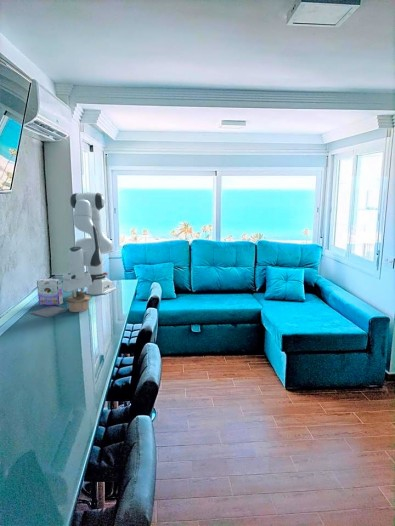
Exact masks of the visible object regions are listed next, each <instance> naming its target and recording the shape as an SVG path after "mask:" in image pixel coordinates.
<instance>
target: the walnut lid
mask: <svg viewBox="0 0 395 526" xmlns="http://www.w3.org/2000/svg"><path fill="white" fill-rule="evenodd" d="M71 293H72V292H71ZM76 294H78V296H77V297H74V294H73V293H72V295H70V296H68V297H66V302H68V303H69V302H70V303H81V302H86V301H88V302H90V300H91V296H90V294H85V292H84V291H83V292H80V291H78V290H76Z"/></svg>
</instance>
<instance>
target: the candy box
mask: <svg viewBox="0 0 395 526" xmlns="http://www.w3.org/2000/svg"><path fill="white" fill-rule="evenodd" d="M62 283H63V280H62V278H45V277H44V278H43V277H42V278H39V279H37V280H36V286H37V296H38V298H37V299H38V305H39V306H56V307H58V306H61V305H62V304H64V300H63V299H64V298H63V286H62Z"/></svg>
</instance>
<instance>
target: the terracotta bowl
mask: <svg viewBox="0 0 395 526" xmlns="http://www.w3.org/2000/svg"><path fill="white" fill-rule="evenodd" d="M68 305H69V306H68V307H69V308H68V310H69V312H72V313H80V312H79V311H83V312H85V311H84V310H86V311H88V310H89V309H88V308H89V301H86V302H81V303H70V302H68ZM87 309H88V310H87Z"/></svg>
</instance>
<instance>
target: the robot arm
mask: <svg viewBox="0 0 395 526" xmlns="http://www.w3.org/2000/svg"><path fill="white" fill-rule="evenodd" d="M69 199H70V200H69V201H70V206H71V207H72V208H73V209H74V210H73V225H74V227H75V228H76V229H77V230H79V231H81V232H83V233H86V234H88V235H89V236H90V238H89V237H87V238H86V237H83V238H79V239H77V240H76V241H75V245H74V246H72V247H70V248H69V249H68V258H67V259H68V265H69V268H68V271H67V272H65V273H64V274H62V277H61V279H62V292H64V293H70V292H71V293H73V294H74V297H77V296H78V294H76V291H78V290H80V291H79V292H84V290H85V288H86V291H85V293H86V295H91V296H93V295H94V296H95V295H107V294H109V293H111V292H113V291H115V290H117V286H116V287H115V286H114V284H113V281H112V280H110V278H108V277H106V276H108V275H109V273H108V272H106V271H105V272H104V262H103V255H104V254H109V253H111V252H112V250H113V248H114V244H113V241H112V240H111V239H110V238H109V237H107V236H106V234H105V233H104V231H103V227H102V219H101V217H102V216H101V209H103V208H104V207H105V203H106V199H105V196H104V195H103V194H102V193H100V192H88V191H87V192H75V193H73V194H72V195H70V198H69ZM85 266H86V270H85Z"/></svg>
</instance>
